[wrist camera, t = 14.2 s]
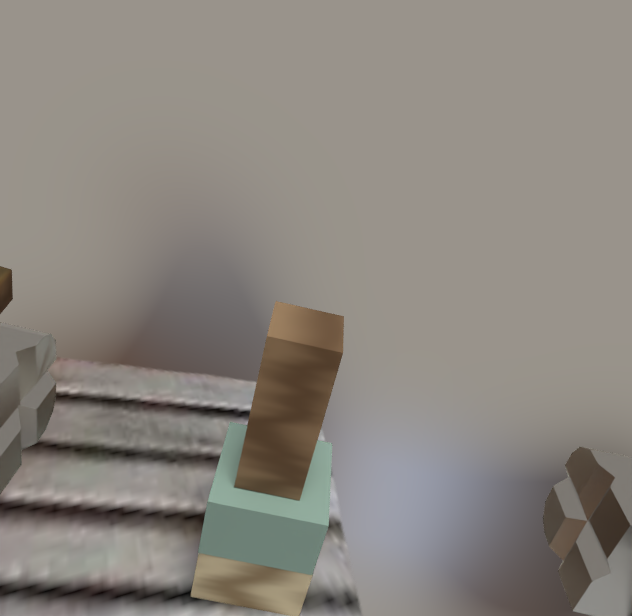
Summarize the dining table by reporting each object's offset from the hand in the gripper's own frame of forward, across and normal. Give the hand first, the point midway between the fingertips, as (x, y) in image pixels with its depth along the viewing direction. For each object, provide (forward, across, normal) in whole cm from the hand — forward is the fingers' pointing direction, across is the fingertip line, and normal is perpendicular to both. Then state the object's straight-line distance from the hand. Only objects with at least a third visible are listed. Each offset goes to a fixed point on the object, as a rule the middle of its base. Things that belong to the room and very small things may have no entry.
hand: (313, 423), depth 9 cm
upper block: (+24, -1, +29) cm, 38 cm away
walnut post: (+24, -1, +24) cm, 34 cm away
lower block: (+24, -1, +34) cm, 42 cm away
